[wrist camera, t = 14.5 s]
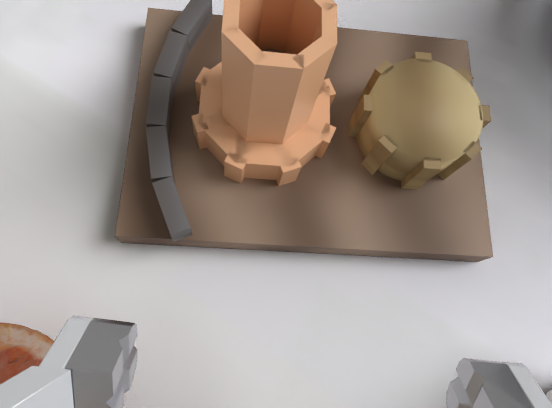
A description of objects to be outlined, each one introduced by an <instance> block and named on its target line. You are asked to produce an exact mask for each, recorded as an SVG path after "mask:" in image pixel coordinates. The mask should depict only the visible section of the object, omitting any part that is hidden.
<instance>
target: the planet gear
mask: <svg viewBox="0 0 552 408" xmlns="http://www.w3.org/2000/svg"><path fill="white" fill-rule="evenodd" d="M221 40H222V62H220V63H219V64H217V65H216V66H215V67H213V68H212V69H208V68H206V67H203V69H202V70H201V72H200V74H199V75H198V77H197V79H196V80H195V86H196V95H197V101H198V102H200V105H199V114H196V115H192V123H193V130H194V135H195V138H196V141H197V144H198V146H199V149H203V148H207V149H208V150H209V151H210V152H211V153H212V154H213V155H214V156H215V157H216V158H217V160H218V161H219V162H220V163H221V164H222V165H223V166H224V176H226V177H228V178H230V179H232V180H234V181H236V182H239V183H242V181H243V179H244V178H254V179H268V180H276V181H277V184H278V186H281V185H284V184H287V183H290V182H293V181H296V179H297V176H298V174H299V172H300V169H301V167H303V166H304V165H305V164H306V163H307V162H309V161H310V160H311V159H312V158H313V157H314V156H317V157H319V158H322V156H323V154H324V153H325V151H326V149H327V147H328V145H329V143H330V141H331V139H332V136H333V134H334V132H335V130H336V127H334V126H332V125H330V106H331V104H332V102H333V100H334V97H335V95H336V92H335V90H334V88H333V86H332V84H331V81H330V79H329V78H328V79H324V78H325V75H326V72H327V70H328V67H329V64H330V62H331V59H332V56H333V54H334V51H335V48H336V46H337V4H336V3H335V2H334V1H333V0H224V9H223V21H222V31H221ZM265 49H276V50H279V51H281V52H282V53H276V52H266V51H262V50H265Z"/></svg>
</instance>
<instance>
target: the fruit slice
mask: <svg viewBox="0 0 552 408" xmlns="http://www.w3.org/2000/svg"><path fill="white" fill-rule="evenodd" d="M53 343H54V341H53V340H52V339H51V338H49V337H48V336H46V335H44V334H42V333H41V332H39V331H36V330H32V329H30V328H27V327H25V326H22V325H16V324H9V323H0V384H2V383H4V382H6V381H7V380H9V379H11V378H12V377H14V376H16V375H17V374H19V373H21V372H22V371H24V370H26V369H28V368H29V367H31V366H39V365H40V363H41V362H42V360H43V359H44V357H45V355H46V354H47V352H48V351H49V349H50V347H51V346H52V344H53Z"/></svg>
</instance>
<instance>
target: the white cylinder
mask: <svg viewBox="0 0 552 408" xmlns="http://www.w3.org/2000/svg"><path fill="white" fill-rule="evenodd" d="M546 397H547V398H548V400H549V401H550V403H551V404H552V389H551V390H550V391H548V392H547V394H546Z"/></svg>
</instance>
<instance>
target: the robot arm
mask: <svg viewBox="0 0 552 408" xmlns="http://www.w3.org/2000/svg"><path fill="white" fill-rule="evenodd" d="M136 337H137V325H136V324H135V323H130V322H122V321H115V320H107V319H99V318H88V317H81V316H72V317H71V318H69V319H68V320H67V322H66V324H65V325H64V327H63V328H62V330H61V332H60V333H59V335H58V336H57V338H56V340H55V341H54V343H53V344H52V346H51V347H50V349H49V351H48V352H47V354H46V355H45V357H44V359H43V360H42V362H41V363H40V365H39V366H31V367H29V368H28V369H26V370H24V371H22V372H21V373H19V374H17V375H16V376H14V377H12V378H11V379H9V380H7V381H6V382H4V383H2V384H0V408H123V406H124V393H125V392H127V391H128V390H129V389H130V387H131V384H132V381H133V378H134V373H135V369H136V363H137V349H136V347H135V346H134V342H135V340H136ZM456 371H457V373H458V375H459V377H457V378H456V379H454V380H453V381H451V382H450V384H449V387H448V390H447V396H446V405H447V408H552V404H551V403H550V401H549V400H548V398H547V397H546V395H545V394H544V392H543V391H542V389H541V388H540V386H539V385H538V383H537V382H536V380H535V378H534V377H533V375H532V374H531V372H530V371H529V369H528V368H527V367H526V366H525V365H523V364H521V363H510V362H497V361H487V360H477V359H466V358H463V359H462V360H461V361H460V362H459V363H458V366H457V368H456Z"/></svg>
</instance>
